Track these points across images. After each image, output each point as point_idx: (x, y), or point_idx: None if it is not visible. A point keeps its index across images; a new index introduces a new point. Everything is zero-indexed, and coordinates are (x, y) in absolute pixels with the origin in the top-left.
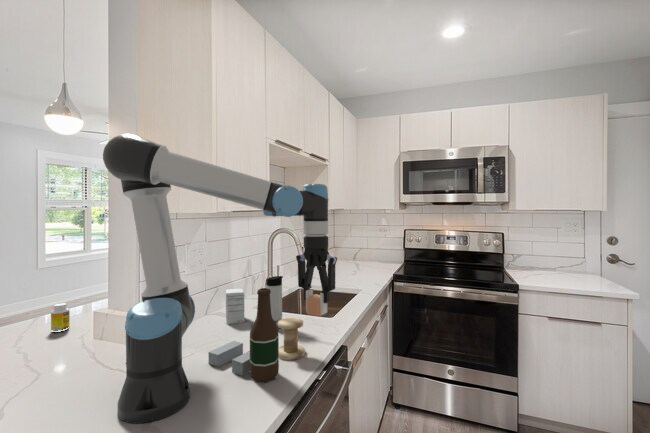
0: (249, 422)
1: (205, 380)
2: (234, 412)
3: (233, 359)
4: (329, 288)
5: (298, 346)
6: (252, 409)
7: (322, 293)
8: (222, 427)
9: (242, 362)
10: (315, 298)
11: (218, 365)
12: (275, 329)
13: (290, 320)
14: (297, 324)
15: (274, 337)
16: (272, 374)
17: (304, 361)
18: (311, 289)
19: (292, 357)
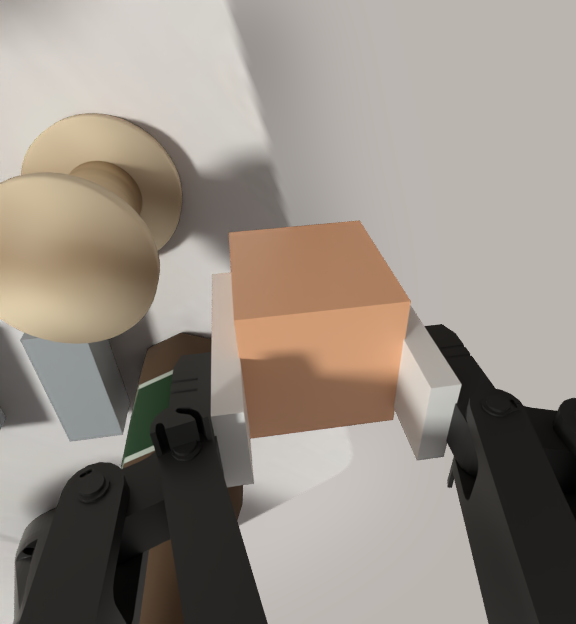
0: (318, 473)
1: (74, 463)
2: (266, 476)
3: (72, 438)
4: (565, 494)
5: (94, 136)
6: (291, 454)
7: (441, 449)
8: (285, 501)
9: (119, 432)
10: (342, 416)
11: (3, 417)
12: (232, 501)
13: (30, 250)
14: (142, 278)
15: (242, 485)
16: None
17: (221, 212)
18: (244, 431)
19: (168, 239)
